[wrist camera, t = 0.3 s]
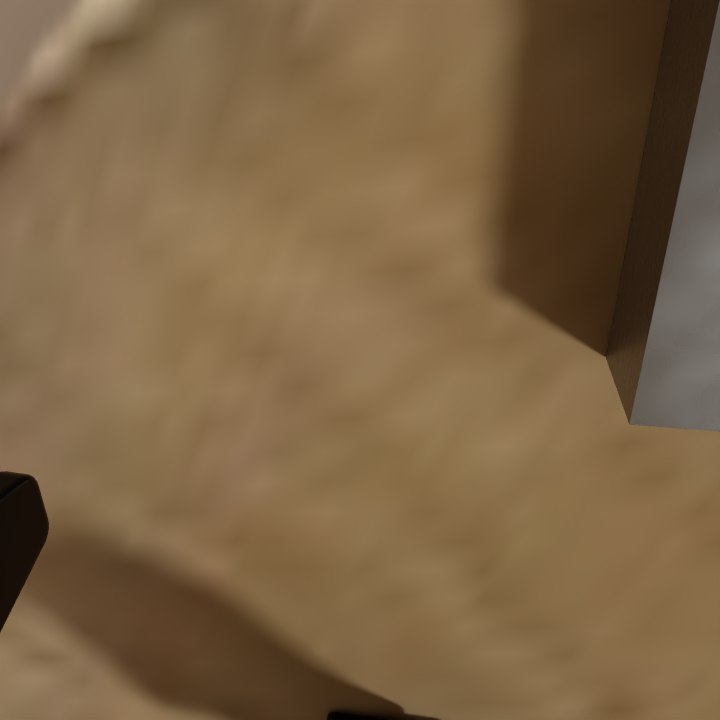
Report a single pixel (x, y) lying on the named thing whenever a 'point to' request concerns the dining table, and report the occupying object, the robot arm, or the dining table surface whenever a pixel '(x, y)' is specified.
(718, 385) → the gray rectangular frame
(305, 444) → the dining table surface
